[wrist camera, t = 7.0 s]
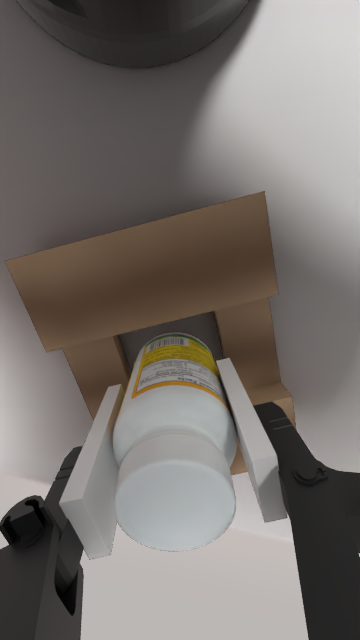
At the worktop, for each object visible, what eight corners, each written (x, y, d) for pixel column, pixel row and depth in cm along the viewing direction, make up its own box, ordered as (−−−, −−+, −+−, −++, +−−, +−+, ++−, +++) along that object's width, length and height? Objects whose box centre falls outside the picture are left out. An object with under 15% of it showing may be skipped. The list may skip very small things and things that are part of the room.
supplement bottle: (167, 313, 16) (160, 410, 7) (230, 360, 17) (295, 497, 8) (119, 373, 17) (58, 522, 8) (181, 414, 18) (188, 585, 9)
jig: (33, 256, 16) (4, 260, 14) (247, 199, 16) (264, 190, 13) (121, 466, 22) (113, 500, 19) (283, 430, 21) (300, 460, 18)
